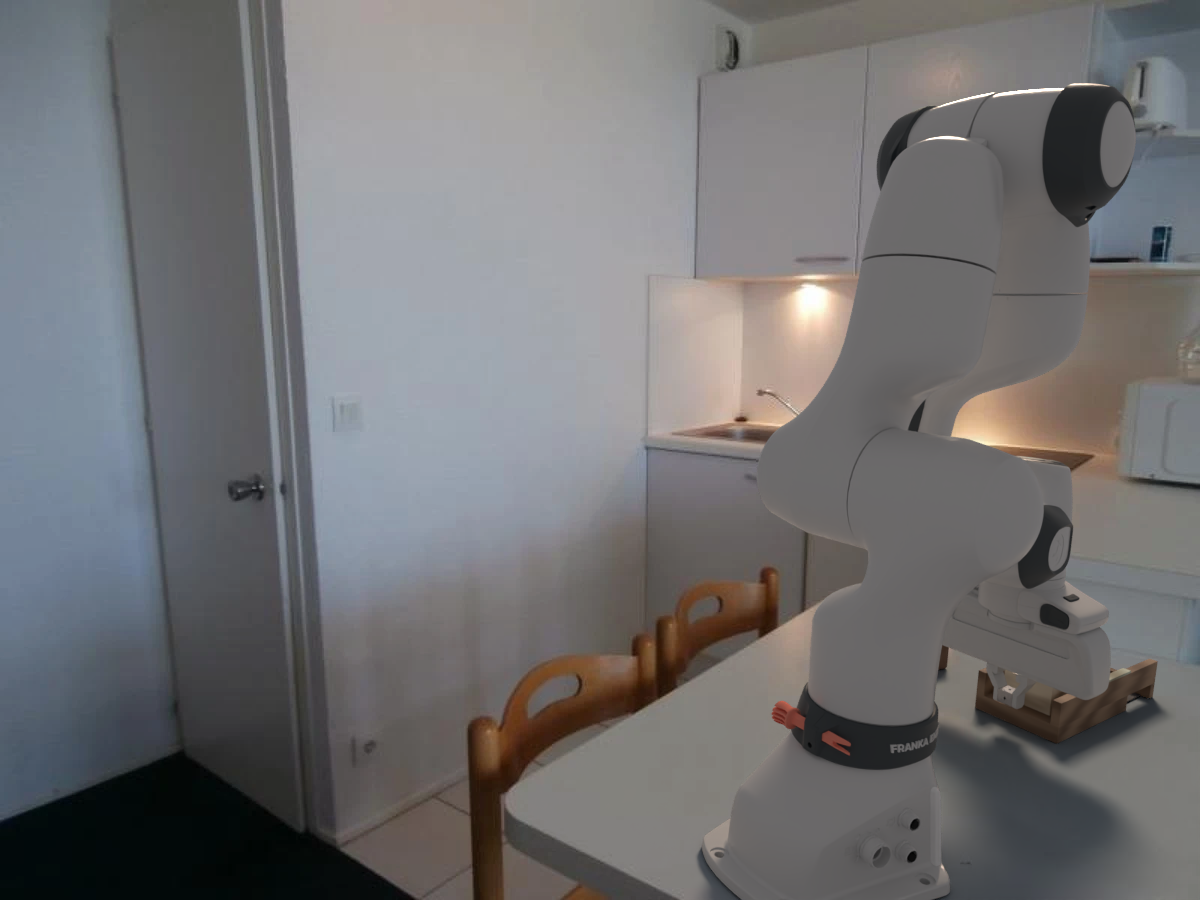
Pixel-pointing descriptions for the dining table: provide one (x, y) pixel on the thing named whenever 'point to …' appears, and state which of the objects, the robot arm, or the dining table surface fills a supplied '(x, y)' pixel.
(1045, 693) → the birch block
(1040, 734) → the walled channel
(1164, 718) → the dining table surface
